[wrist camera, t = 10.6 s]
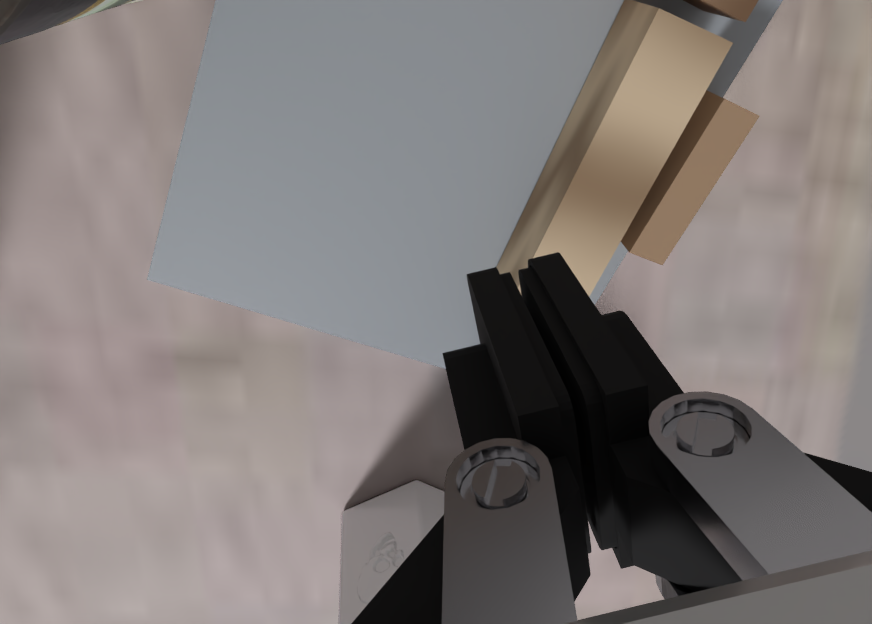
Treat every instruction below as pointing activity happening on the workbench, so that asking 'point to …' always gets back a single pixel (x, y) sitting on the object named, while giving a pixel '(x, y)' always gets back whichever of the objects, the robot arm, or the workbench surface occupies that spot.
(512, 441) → the robot arm
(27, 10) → the coffee can
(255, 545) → the workbench surface
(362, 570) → the jar
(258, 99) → the jig board
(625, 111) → the oak leg
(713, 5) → the fixed rail
